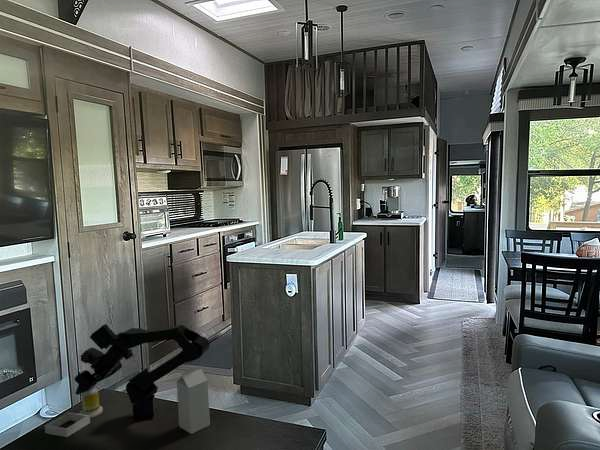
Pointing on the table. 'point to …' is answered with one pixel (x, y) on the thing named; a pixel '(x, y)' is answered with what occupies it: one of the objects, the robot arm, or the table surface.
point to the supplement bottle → (90, 401)
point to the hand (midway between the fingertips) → (85, 388)
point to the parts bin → (65, 432)
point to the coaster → (94, 412)
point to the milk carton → (193, 400)
